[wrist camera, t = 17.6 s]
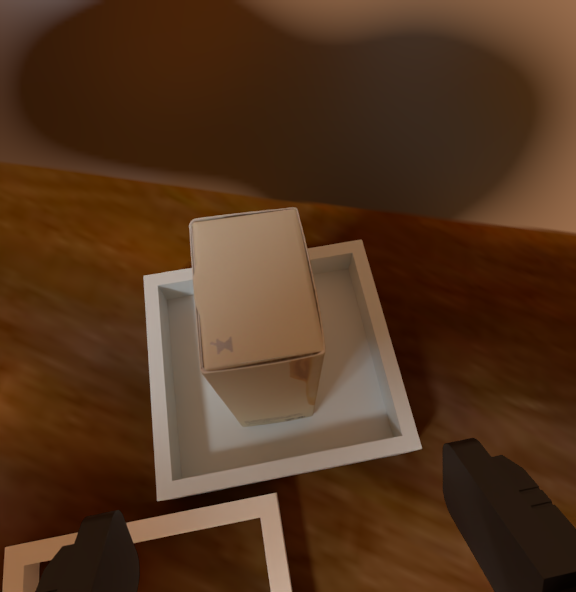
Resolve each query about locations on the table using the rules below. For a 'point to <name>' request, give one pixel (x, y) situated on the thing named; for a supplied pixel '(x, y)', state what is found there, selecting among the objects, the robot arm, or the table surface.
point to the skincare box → (257, 314)
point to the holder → (27, 556)
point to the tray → (284, 435)
